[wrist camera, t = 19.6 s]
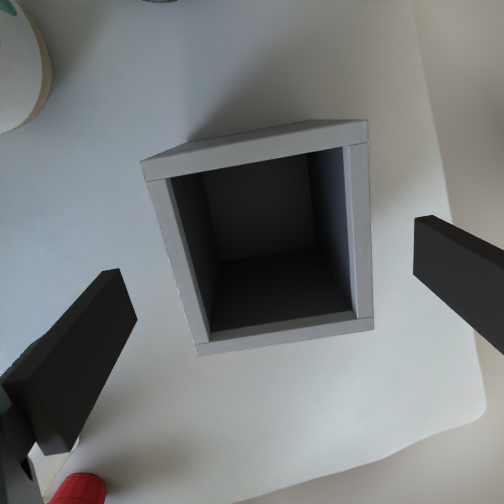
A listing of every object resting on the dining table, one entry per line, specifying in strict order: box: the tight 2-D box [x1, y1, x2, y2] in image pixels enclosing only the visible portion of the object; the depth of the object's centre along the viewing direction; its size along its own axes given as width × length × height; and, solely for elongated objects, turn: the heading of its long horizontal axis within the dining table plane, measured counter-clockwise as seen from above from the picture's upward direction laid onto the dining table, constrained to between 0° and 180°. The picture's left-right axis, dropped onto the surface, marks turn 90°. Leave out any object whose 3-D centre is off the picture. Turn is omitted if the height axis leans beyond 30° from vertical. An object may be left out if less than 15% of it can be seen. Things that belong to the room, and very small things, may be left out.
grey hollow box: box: [140, 120, 374, 357], centre depth 24 cm, size 13×11×12 cm
